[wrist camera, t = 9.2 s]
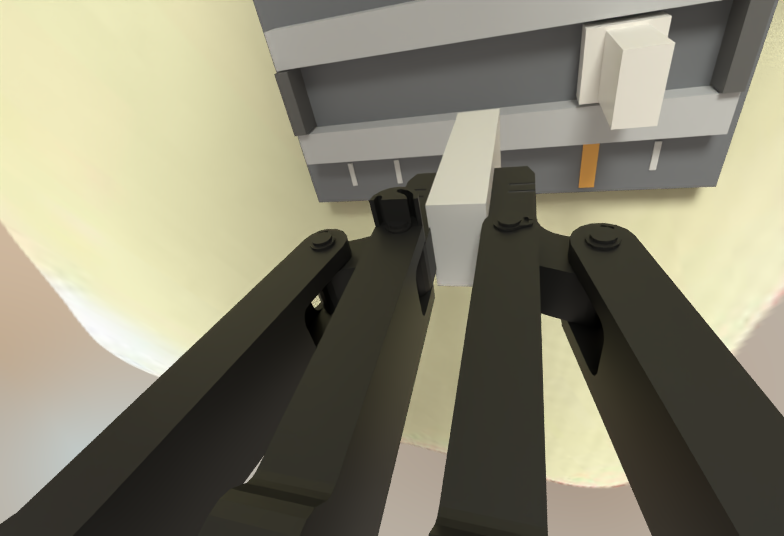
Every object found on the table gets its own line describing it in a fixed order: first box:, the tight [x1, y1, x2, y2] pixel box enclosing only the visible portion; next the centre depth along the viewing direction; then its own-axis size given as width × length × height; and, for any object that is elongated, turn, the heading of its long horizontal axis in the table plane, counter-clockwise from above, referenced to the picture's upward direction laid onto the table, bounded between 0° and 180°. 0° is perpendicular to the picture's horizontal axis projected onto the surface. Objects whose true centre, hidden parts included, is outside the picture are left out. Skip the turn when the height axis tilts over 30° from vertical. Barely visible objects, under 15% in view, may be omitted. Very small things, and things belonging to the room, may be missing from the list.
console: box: [253, 0, 778, 202], centre depth 26 cm, size 18×30×4 cm, turn 100°
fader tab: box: [576, 11, 675, 130], centre depth 21 cm, size 4×4×7 cm
